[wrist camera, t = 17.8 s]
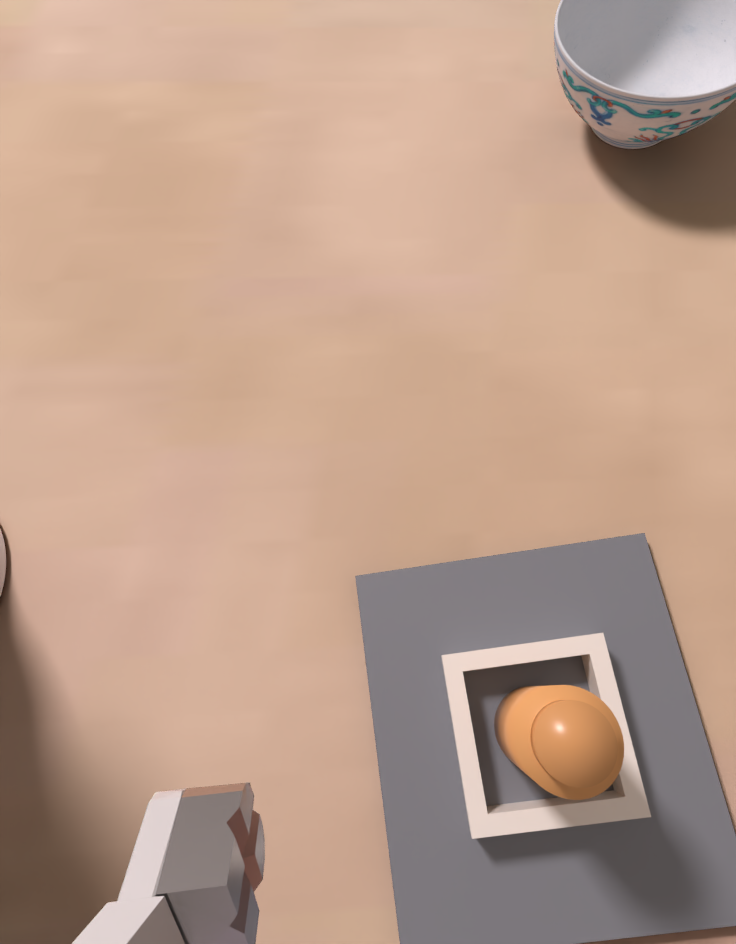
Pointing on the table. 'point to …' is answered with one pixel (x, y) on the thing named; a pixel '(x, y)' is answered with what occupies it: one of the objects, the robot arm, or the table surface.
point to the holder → (511, 790)
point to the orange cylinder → (561, 739)
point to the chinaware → (646, 65)
